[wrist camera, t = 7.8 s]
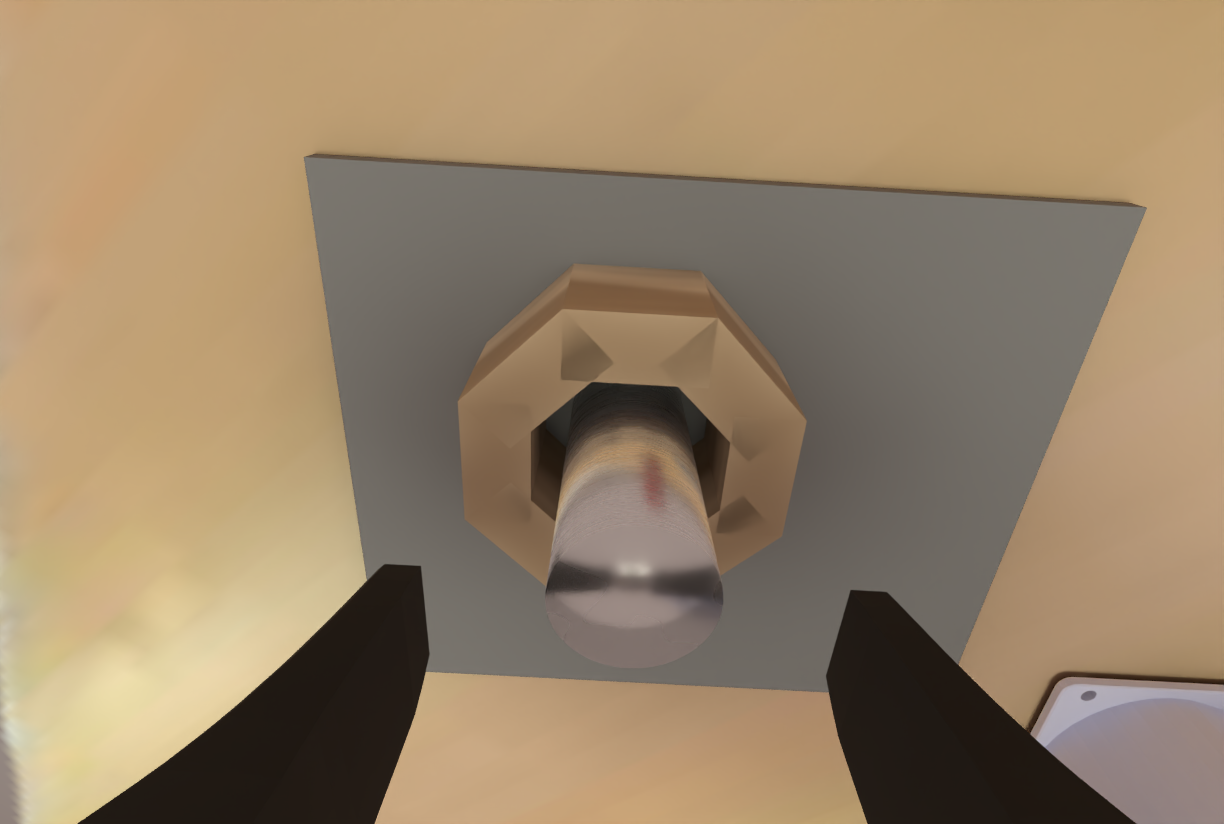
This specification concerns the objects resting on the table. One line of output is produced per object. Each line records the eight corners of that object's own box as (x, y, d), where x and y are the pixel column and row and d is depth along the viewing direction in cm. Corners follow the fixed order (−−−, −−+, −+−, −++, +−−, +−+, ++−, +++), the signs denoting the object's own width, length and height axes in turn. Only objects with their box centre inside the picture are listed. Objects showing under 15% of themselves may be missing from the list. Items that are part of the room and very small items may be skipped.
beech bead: (790, 275, 17) (827, 324, 14) (745, 523, 20) (767, 606, 17) (483, 258, 17) (451, 302, 14) (492, 509, 20) (468, 590, 17)
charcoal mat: (1130, 202, 16) (1146, 207, 16) (936, 684, 24) (943, 698, 24) (314, 154, 16) (303, 157, 16) (385, 655, 24) (380, 669, 24)
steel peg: (684, 355, 18) (729, 527, 11) (679, 454, 19) (717, 668, 12) (572, 355, 18) (540, 526, 11) (574, 454, 19) (548, 668, 12)
